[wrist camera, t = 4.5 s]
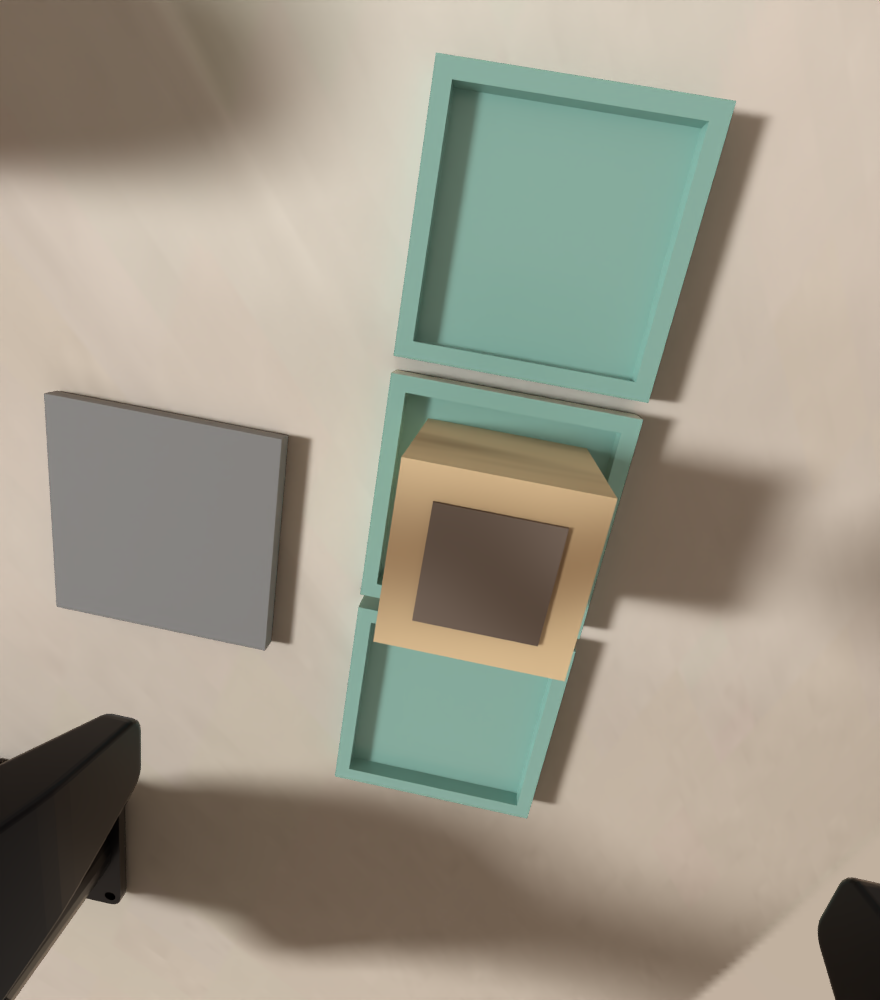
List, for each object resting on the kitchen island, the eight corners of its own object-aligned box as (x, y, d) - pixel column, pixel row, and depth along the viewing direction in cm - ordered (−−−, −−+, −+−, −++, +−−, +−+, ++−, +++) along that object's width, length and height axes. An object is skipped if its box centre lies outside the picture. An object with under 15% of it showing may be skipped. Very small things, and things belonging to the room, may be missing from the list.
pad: (271, 641, 21) (264, 650, 21) (68, 599, 22) (56, 606, 21) (288, 435, 19) (281, 439, 18) (57, 391, 19) (44, 393, 19)
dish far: (526, 799, 23) (527, 818, 22) (341, 758, 23) (334, 776, 22) (572, 637, 20) (575, 651, 19) (364, 594, 20) (358, 607, 20)
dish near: (640, 398, 17) (648, 403, 16) (398, 353, 18) (393, 355, 17) (722, 112, 15) (736, 100, 14) (439, 67, 15) (436, 52, 14)
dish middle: (575, 625, 20) (579, 639, 19) (366, 582, 20) (360, 594, 19) (636, 414, 17) (643, 419, 17) (396, 369, 18) (391, 372, 17)
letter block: (549, 590, 19) (565, 683, 14) (404, 561, 19) (372, 643, 15) (587, 448, 18) (618, 500, 13) (428, 418, 18) (400, 457, 13)
